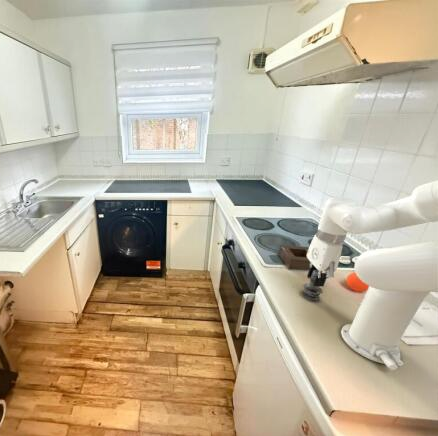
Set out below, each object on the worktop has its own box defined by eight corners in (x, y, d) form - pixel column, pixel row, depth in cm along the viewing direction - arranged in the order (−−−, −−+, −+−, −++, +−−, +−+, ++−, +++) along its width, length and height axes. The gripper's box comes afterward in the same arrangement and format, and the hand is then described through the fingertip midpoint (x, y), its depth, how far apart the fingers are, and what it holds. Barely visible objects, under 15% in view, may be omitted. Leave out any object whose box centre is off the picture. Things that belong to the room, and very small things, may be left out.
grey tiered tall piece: (312, 290, 89) (321, 263, 84) (323, 301, 84) (334, 273, 79) (297, 291, 89) (305, 264, 84) (307, 302, 83) (316, 274, 79)
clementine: (342, 280, 95) (347, 265, 92) (364, 285, 92) (371, 270, 89) (345, 291, 89) (351, 275, 86) (369, 298, 85) (376, 282, 83)
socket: (318, 271, 100) (322, 261, 98) (288, 269, 102) (291, 259, 100) (305, 256, 111) (308, 247, 109) (278, 254, 113) (280, 245, 111)
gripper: (305, 224, 85) (293, 267, 92) (332, 247, 70) (315, 296, 77) (328, 225, 84) (314, 269, 91) (360, 249, 69) (340, 299, 76)
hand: (315, 281), depth 84 cm, fingers closed on grey tiered tall piece, 3 cm apart
